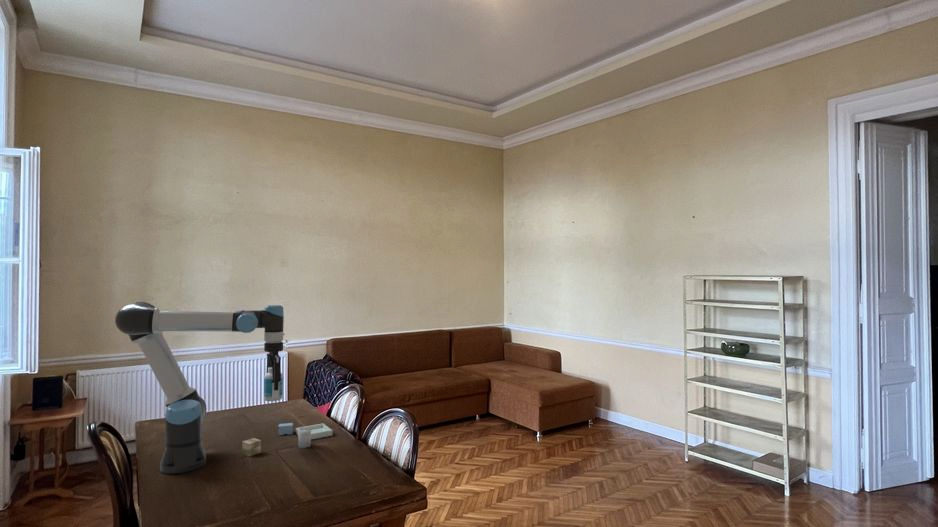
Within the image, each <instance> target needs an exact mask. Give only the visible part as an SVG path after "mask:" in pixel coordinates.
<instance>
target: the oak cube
mask: <svg viewBox="0 0 938 527" xmlns="http://www.w3.org/2000/svg"><path fill="white" fill-rule="evenodd" d="M241 446H242V451H241V452H242V453H241V454H242V455H245V456H247V457H251V456H254V455H257V454H261V453H262V440H261V439H257V438H256V437H253V438H252V437H251V438H248V439H246V440H242V444H241Z"/></svg>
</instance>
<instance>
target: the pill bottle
mask: <svg viewBox="0 0 938 527" xmlns="http://www.w3.org/2000/svg"><path fill="white" fill-rule="evenodd" d="M276 379H278V378H276ZM271 381H273V375H272V367H269V368H268V373H267V374H266V373H265V374H264V376H263V400H264V401H266V402H277V401H280V400H282V399H283V393H284V392H283V390H284V389H283V386H284V385H283V384H284V375H283V373H282V372H281V381H280V382H279V398H272V383H271Z"/></svg>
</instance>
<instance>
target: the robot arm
mask: <svg viewBox="0 0 938 527" xmlns="http://www.w3.org/2000/svg"><path fill="white" fill-rule="evenodd" d="M284 316H285V315H284V307H283V305H280V304H275V305H274V304H268V305H264V309H261V310H244V309H242V310H236V311H234V312H231V311H230V312H226V311H222V312H220V311H191V310H190V311H189V310H188V311H185V310H161V309H159V308H158V307H156V306H155V305H153V304H152V303H149V302H144V301H137V302H134V303H130V304H127V305H124V306H123V307H121V308H120V309H119V310H118V312H116V315H115V318H114V323H115V326H116V327H117V329H118V331H119V332H121V333H123V334H125V335H127V336H128V337H129V339H130V340H131V343H133V344H137V345H138V346H139V347H140V349H141V352H142V353H143V355H144V357H145V359H146V360H147V363H148V365H149V367H150V369H151V371H152V372H153V374H154V376H155V378H156V380H157V382H158V384H159V386H160V387H161V389H162V392H163V393H164V395H165V398H166V400H165V402H164V405H165V408H166V409H165V414H164V419H165V449H164V451H163V455H162V457H161V459H160V460H161V461H160V463H159V472H161V473H163V474H172V475H174V474H181V473H187V472H191V471H196V470H197V469H199V468H200V469H201V468H202V467H204V466H205V465H206V463H207V455H206V452H205V450H204V447H203V444H202V422H203V420H204V418H205V416H206V414H207V408H208V407H207V405H206V404H207V403H206V401H205V400H204V399H203V398H202V397H201V396H200V395H199V393H198V391H197V389H196V388H194V387H191V386H190V385H189V383H188V381H187V379H186V378H185V376H184V374H183V372H182V370H181V368H180V366H179V364H178V362H177V360H176V358H175V356H174V354H173V352H172V350H171V348H170V345H168V343H167V340H166V338H165V337H164V334H163V333H164V332H231V333H232V332H233V333H236V332H237V333H239V332H240V333H243V334H249V333H252V332H254V331H255V330H256V329H264V332H263V333H264V335H263V336H264V338H263V340H264V346H263V347H264V348H263V351H264V352H266V373H265V374H267V373H268V368H269V367H272V375H273V381H271V383H272V398H279V382H280V381H281V373H282V372H281V370H282V368H281V367H282V366H281V361H282V358H281V356H280V354H279V352H283V350H284V342H283V340H284V336H285V333H284V322H285V320H284V319H285V317H284ZM276 378H278V379H276Z"/></svg>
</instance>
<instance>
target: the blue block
mask: <svg viewBox="0 0 938 527" xmlns="http://www.w3.org/2000/svg"><path fill="white" fill-rule="evenodd" d="M277 433H278V434H277V435H278V436H284V434H287V435H293V433H294V423H293V422H287V423H278V430H277Z"/></svg>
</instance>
